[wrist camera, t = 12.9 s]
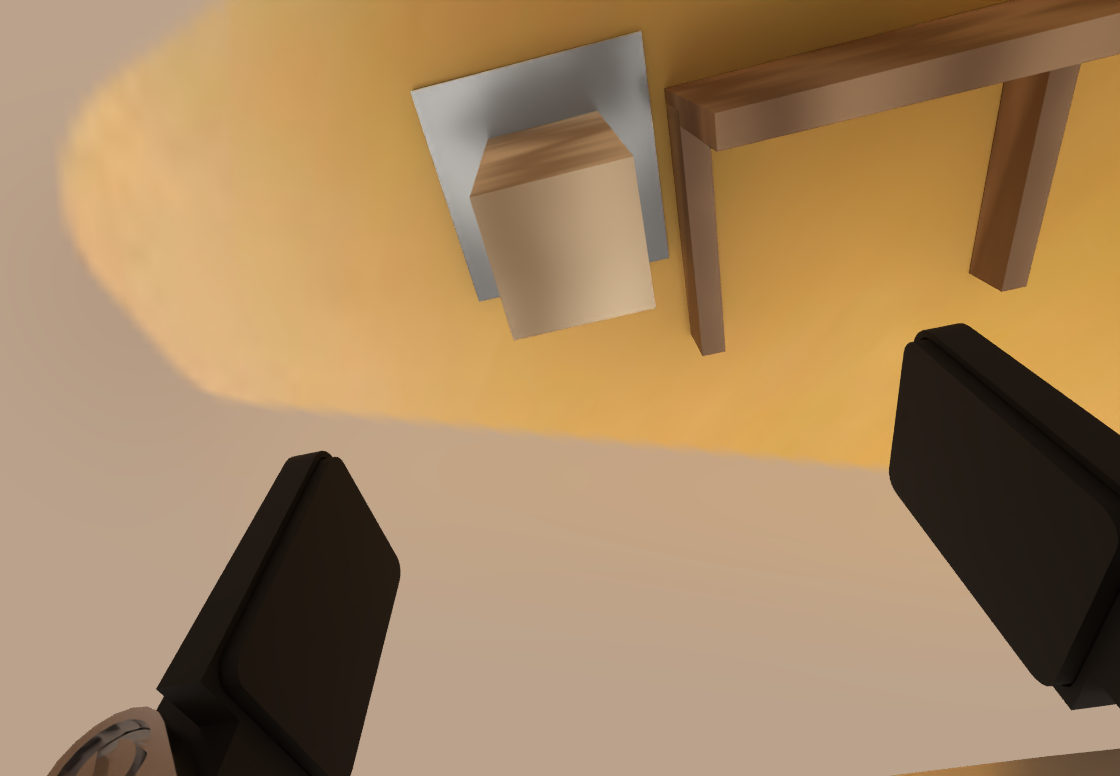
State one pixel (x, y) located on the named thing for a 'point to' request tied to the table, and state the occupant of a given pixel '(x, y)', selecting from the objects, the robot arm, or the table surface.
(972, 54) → the wooden arch bench
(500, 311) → the table surface
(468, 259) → the coaster
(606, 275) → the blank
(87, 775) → the robot arm
